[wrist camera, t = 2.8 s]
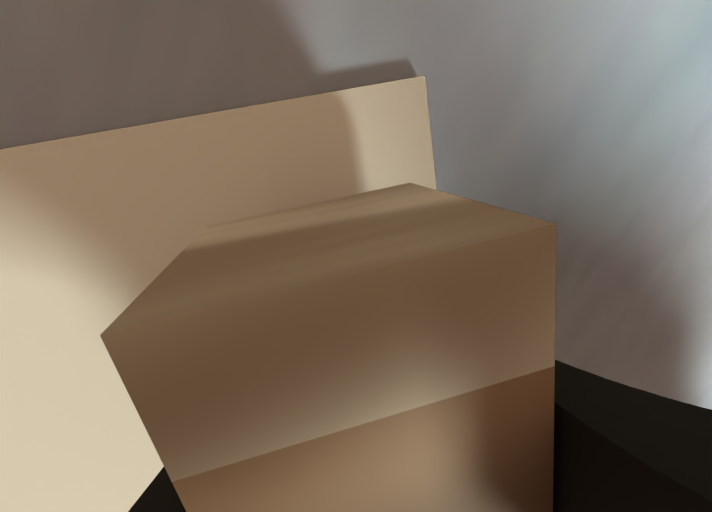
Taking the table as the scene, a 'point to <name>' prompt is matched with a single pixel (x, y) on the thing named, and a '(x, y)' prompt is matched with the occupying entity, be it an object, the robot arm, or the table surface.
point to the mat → (152, 259)
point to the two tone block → (352, 358)
